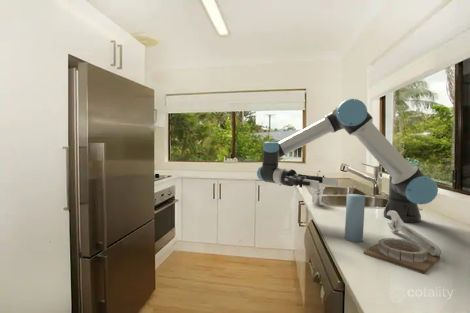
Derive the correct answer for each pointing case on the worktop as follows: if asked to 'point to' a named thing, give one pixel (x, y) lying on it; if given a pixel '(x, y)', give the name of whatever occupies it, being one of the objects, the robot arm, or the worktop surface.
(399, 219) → the wrench
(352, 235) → the post
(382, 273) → the worktop surface
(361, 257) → the worktop surface
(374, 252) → the collar board
